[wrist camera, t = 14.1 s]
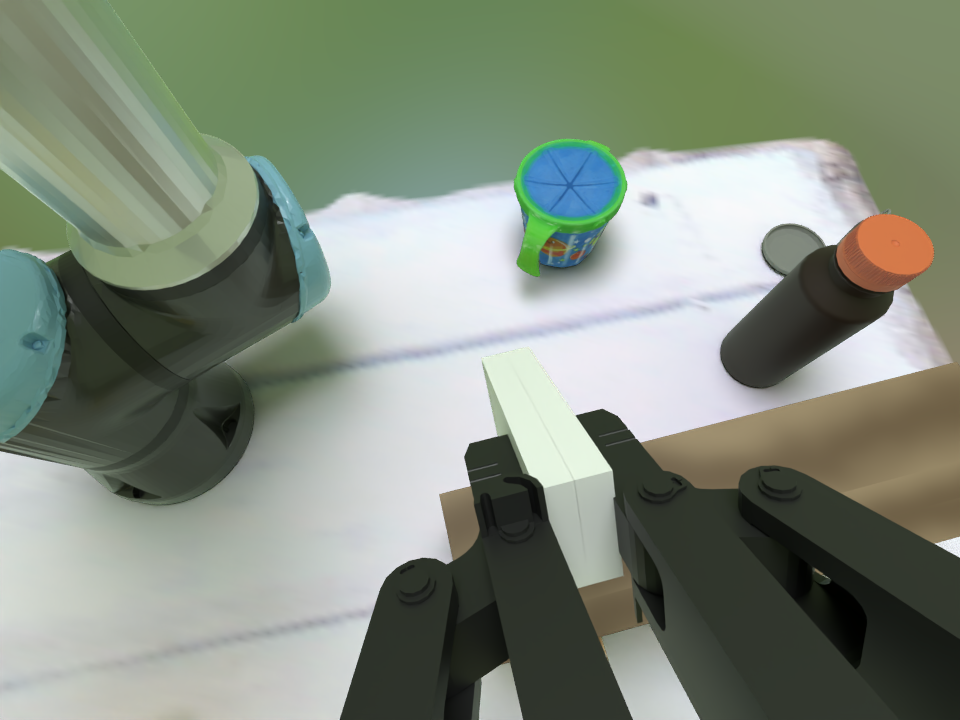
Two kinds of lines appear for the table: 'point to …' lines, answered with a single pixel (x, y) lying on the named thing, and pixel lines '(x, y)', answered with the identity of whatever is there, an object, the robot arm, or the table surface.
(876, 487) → the console
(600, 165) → the snack cup
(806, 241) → the pocket watch
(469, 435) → the table surface
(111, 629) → the table surface
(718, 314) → the table surface
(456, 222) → the table surface
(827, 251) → the bottle
